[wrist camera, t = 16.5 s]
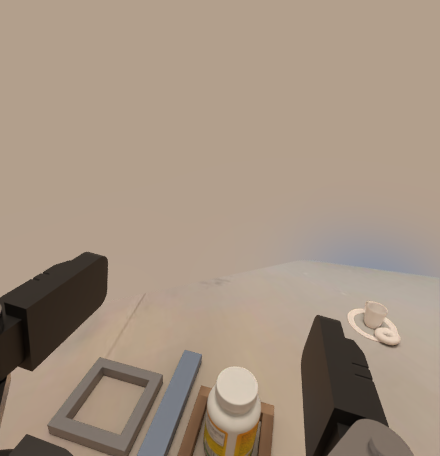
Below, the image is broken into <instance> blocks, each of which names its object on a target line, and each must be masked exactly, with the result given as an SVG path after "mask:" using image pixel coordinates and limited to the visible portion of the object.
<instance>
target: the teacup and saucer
mask: <svg viewBox="0 0 440 456" xmlns="http://www.w3.org/2000/svg"><path fill="white" fill-rule="evenodd" d="M358 313H365V315H364V323H365V325H366V326H367V327H369V328H371V329H376V330H375V332H374V333H375V336H376V337H375V336H371V335H369V334H367V333H365V332H363V331H362V330H361V329H359V328H358V327H357V325H356V324H355V322H354V316H355V315H356V314H358ZM387 313H388V310H387V308H386V307H385V306H383V305H382V304H380V303H377V302H371V301H366V303H365V309H354V310H352V311H350V312H349V313H348V317H347V318H348V322H349V324H350V325H351V326H352V328H353V329H354V330H356V331H357V332H358V333H359V334H361V335H363V336H364V337H366V338H369V339H371V340H374V341H378V342H383V343H385V344H388V345H396V344H398V343H399V342H400V340H401V338H400V336H399V335H398V331H397V329H396V327H395V325H394V324H393V323H392V322H391V321H390V320H389V319H387V318H386V315H387ZM383 321H385V322H386V323H387V324H388V326H389V327H390V329H388V328H378V327H380V325H381V324H382V322H383Z"/></svg>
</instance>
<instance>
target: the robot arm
mask: <svg viewBox="0 0 440 456" xmlns="http://www.w3.org/2000/svg"><path fill="white" fill-rule="evenodd" d="M107 275H108V260H107V258H106V257H105V256H101V255H98V254H94V253H90V252H85V253H83V254H81V255H80V256H78V257H76V258H75V259H73V260H71V261H66V262H63V263H60V264H56V265H54V266H52V267H51V268H49V269H47V270H46V271H44V272H43V274H39V275H37V276H35V277H34V278H33V280H32V279H30V280H29V281H27V282H25V283H24V284H22V285H20V286H19V287H17V288H15V289H14V290H12V291H10V292H9V293H7V294H5V295H3V296H2V297H1V298H0V426H1V422H2V417H3V413H4V408H5V404H6V399H7V395H8V391H9V386H10V382H11V374H10V373H11V372H12V371H13V370H14V369H15V368H16V367H21V368H24V369H27V370H30V371H33V370H34V369H35V368H36V367H37V366H39V365H40V364H41V363H42V362H43V361H44V360H45V359H46V358H47V357H48V356H49V355H50V354H51V353H52V352H53V351H54V350H55V349H56V348H57V347H58V346H59V345H60V344H61V343H63V342H64V341H65V340H66V339H67V338H68V337H69V336H70V335H71V334H72V333H73V332H74V331H75V330H76V329H77V328H78V327H79V326H80V325H81V324H82V323H83V322H84V321H85V320H87V319H88V318H89V317H90V316H91V315H92V314H93V313H94V312H95V311H96V310H97V309H98V308H99V307H100V306H101V305H102V303H103V302H104V300H105V297H106V294H107ZM368 368H369V367H368V364H367V361H366V358H365V355H364V353H363V352H362V350H361V349H360V348H359V347H358V345H357V344H356V343H355V341H354V340H351V339H347V338H345V337H344V333H343V329H342V326H341V322H340V321H338V320H334V319H331V318H327V317H323V316H320V315H317V316H316V317H315V319H314V321H313V324H312V327H311V330H310V333H309V335H308V338H307V341H306V344H305V347H304V350H303V354H302V360H301V376H302V393H303V411H304V428H305V446H306V456H414V455H413V453H412V451H411V450H410V448H409V447H408V445H407V444H406V443H405V442H404V441H403V440H402V438H401V437H400V436H399V435H397V434H396V433H395V432H394V431H393V430H391V429H390V428H389V426H388V423H387V420H386V417H385V414H384V411H383V408H382V405H381V402H380V399H379V396H378V393H377V390H376V387H375V385H374V382H372V376H371V373H370V370H368ZM0 456H73V455H72V454H71V453H70V452H69V451H67V450H66V449H64V448H62V447H59V446H56V445H54V444H51V443H49V442H46V441H43V440H41V439H38V438H36V437H33V436H31V435H28V434H26V435H25V437H24V438H23V439H22V440H21V441H20V443H19V444H18V445H17V446H16V447H15V448H14V449H6V450H0Z"/></svg>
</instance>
